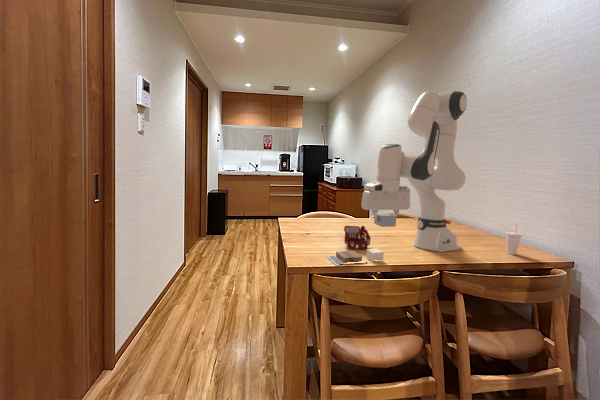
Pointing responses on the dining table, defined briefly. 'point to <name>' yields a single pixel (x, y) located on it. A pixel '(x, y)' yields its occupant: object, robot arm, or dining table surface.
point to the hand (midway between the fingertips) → (384, 220)
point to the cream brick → (375, 254)
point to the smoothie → (512, 241)
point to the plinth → (348, 256)
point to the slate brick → (386, 220)
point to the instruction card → (334, 259)
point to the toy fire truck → (356, 237)
